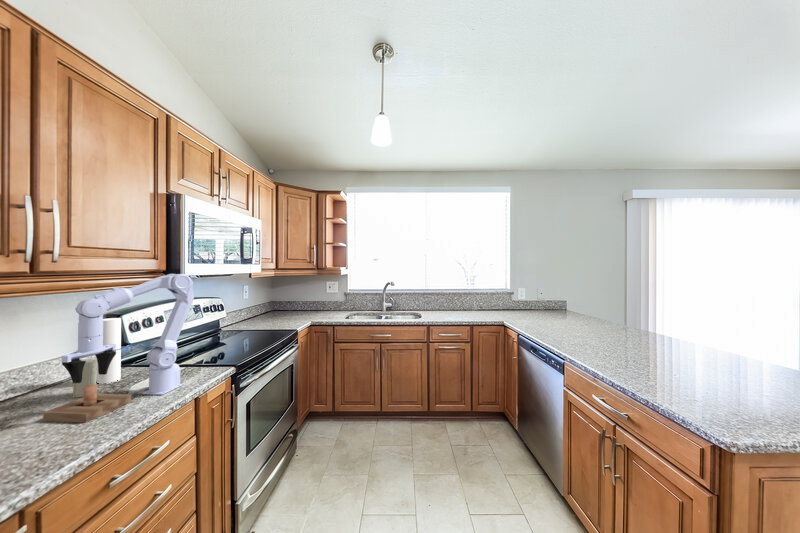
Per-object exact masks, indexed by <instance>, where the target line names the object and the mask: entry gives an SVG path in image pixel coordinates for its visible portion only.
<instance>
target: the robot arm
mask: <svg viewBox="0 0 800 533" xmlns="http://www.w3.org/2000/svg"><path fill="white" fill-rule="evenodd" d="M193 286H194V281H193V280H192V278H191V277H190V276H189V275H188V274H185V273H177V274H176V273H168V274H166V275H161V276H158V277H155V278H152V279H150V280H147V281H145V282H142V283H140V284H138V285H137V284H136V285H134V286H132V287H130V288H126V287H113V288H111V290H110V291H106V292H105V293H102V294H101V293H100V294H98V293H97V294H95V295H93V296H94V298H84V299H82V300H81V301H79V302H78V303H77V305H76V307H75V308H74V309H75V312H76V313H77V315H78V323H77V350H76V351H73V352H70V353H67V354H64V355H61V364H62V366H63V367H64V368H65V369H66V370H67V372H68V374H69V376H70V378H71V380H72V384H73V383H81V382H82V372H83V368H84V365H85V362H86V361H81V359H83V358H84V359H85V358H87V357H88V358H89V357H92V356H95V358H97V361H98V372H99V374H101V375H105V374H107V371H108V368H109V365H110V363H111V361H112V359H113V357H114V356H115V355H116V351H113V350H116V344H109V345H104V346H103V319H104V314H105V313H106V312H107V311H112V310H114V309H117V308H119V307H121V306H124V305H127V304H129V303H131V301H132V300H133V298H134V297H138V296H140V295H143V294H146V293H149V292H152V291H154V290H157V289H166V290H168V291H170V292H171V293H172V295H173V296H174V297H175V299H176V301H175V303H174V305H173V307H172V310H171V313H170V315H169V317H168V319H167V322H166V324H165V326H164V328H163V331H162V334H161V335H160V338H159V339H158V340H157V341H156V342H155V343H154V345H153V347H152V348H151V349H150V350H149V351H148V353H147V354H146V361H147V362H148V363H149V364H150V365H149V367H148V373H149V374H148V390H145V391H144V392H142V393H141V394H142V395H151V396H153V395H155V396H157V395H158V396H160V395H161V396H163V395H165V394H167V393H170V392H171V391H173V390H176V389H177V388H180V387H181V386H183V383H181V368H180V365H179V364H178V363H176V360H177V352H178V344H177V341H178V340H179V336H180V334H181V332H182V329H183V326H184V324H185V322H186V319H187V316H188V315H189V312H190V309H191V307H192V305H193V302H194V300H195V293H194V288H193Z"/></svg>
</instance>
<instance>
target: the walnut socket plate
mask: <svg viewBox="0 0 800 533" xmlns="http://www.w3.org/2000/svg"><path fill="white" fill-rule="evenodd" d="M83 401H84V397H79V398H78V399H75V400H73V401H70V402H68V403H65V404H62V405H59V406H56V407H54V408H52V409H49V410H47V411H43V412H42V414H43V415H42V418H43V419H42V421H43V422H61V423H62V422H63V423H64V422H66V423H88V422H91V421H93V420H96V419H97V418H99V417H101V416H104V415H105V414H108V413H111V412H113V411H115V410H117V409H119V408H121V407H123V406H125V405H127V404H129V403H132V395H131V394H117V393H97V404H94V405H92V406H90V407H83Z"/></svg>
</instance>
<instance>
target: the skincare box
mask: <svg viewBox="0 0 800 533" xmlns="http://www.w3.org/2000/svg"><path fill="white" fill-rule="evenodd" d="M80 360H81V361H86V362H85V365H84V368H83V372H82V382H81V383H73V382H72V388H73V389H72V398H73V399H75V398H83V397H84V386H87V385H91V384H97V383H96V377H97V358H96V357H95V358H84V359H83V358H80Z"/></svg>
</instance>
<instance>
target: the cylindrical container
mask: <svg viewBox="0 0 800 533" xmlns="http://www.w3.org/2000/svg"><path fill="white" fill-rule="evenodd" d="M109 344H116V350H113V351H116V355H115V356H114V357H113V359H112V361H111V363H110V365H109V368H108V371H107V374H105V375H101V374H99V372H98V361H97V364H96V382H97V383H99V384H98V385H104V384H103V383H106V384H110V383H111V382H112V383H115V382H118V381H120V380H121V379H122V377H121V374H122V373H121V372H122V368H121V366H122V363H121V362H122V361H121V360H122V358H121V357H122V355H121V354H122V318H121V317H111V318H103V346H104V345H109ZM117 380H118V381H117ZM97 383H96V384H97ZM112 383H111V384H112Z"/></svg>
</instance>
